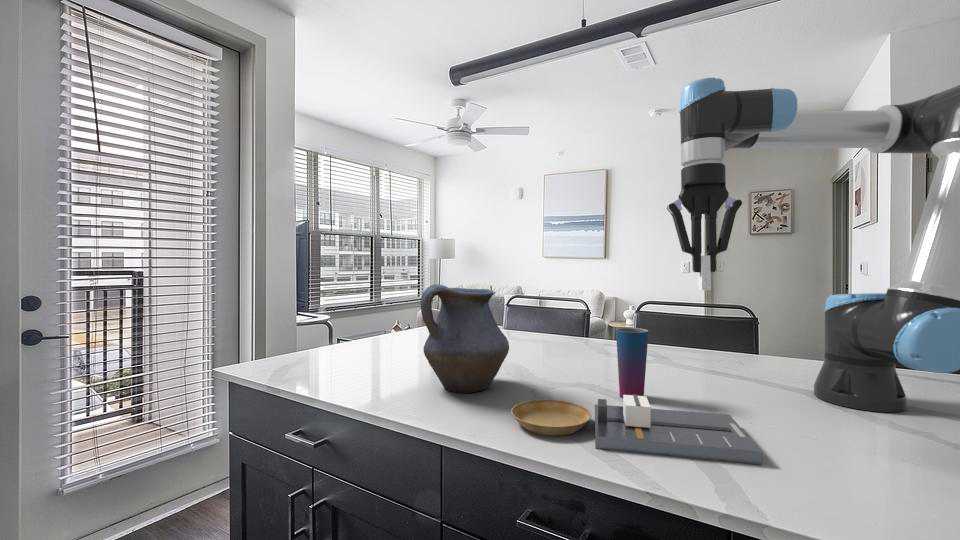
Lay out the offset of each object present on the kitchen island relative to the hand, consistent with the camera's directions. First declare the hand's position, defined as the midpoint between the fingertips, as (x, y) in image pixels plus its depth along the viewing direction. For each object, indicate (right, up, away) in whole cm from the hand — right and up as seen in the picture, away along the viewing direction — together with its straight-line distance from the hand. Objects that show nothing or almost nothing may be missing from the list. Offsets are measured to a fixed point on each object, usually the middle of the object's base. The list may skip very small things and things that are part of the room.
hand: (704, 289), depth 84 cm
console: (-11, -25, -8) cm, 28 cm away
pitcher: (-47, -25, +21) cm, 57 cm away
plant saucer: (-30, -25, -2) cm, 39 cm away
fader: (-15, -23, -7) cm, 28 cm away
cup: (-9, -25, +14) cm, 30 cm away
